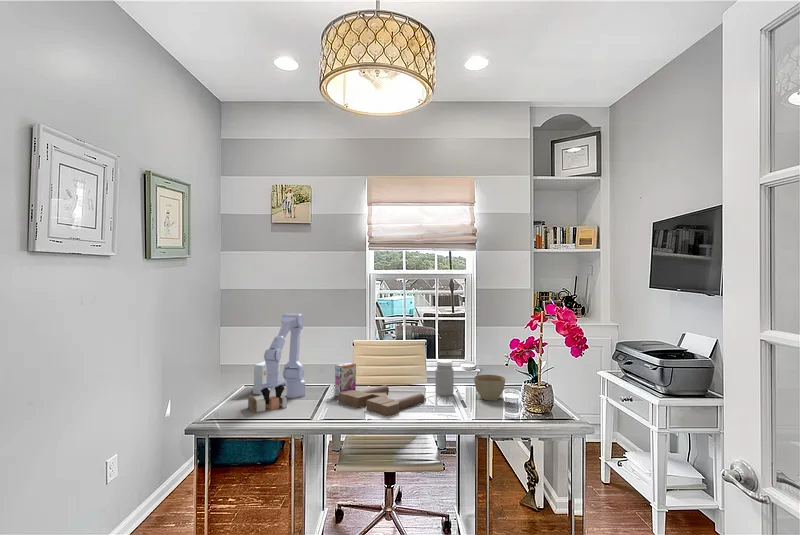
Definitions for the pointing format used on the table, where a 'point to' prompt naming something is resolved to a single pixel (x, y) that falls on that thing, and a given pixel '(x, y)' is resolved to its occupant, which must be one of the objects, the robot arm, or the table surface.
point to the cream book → (260, 404)
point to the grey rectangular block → (283, 401)
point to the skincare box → (260, 376)
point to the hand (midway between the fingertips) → (272, 402)
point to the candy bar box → (345, 377)
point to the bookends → (379, 400)
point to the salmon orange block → (272, 403)
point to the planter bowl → (489, 386)
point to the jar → (444, 378)
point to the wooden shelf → (252, 403)
